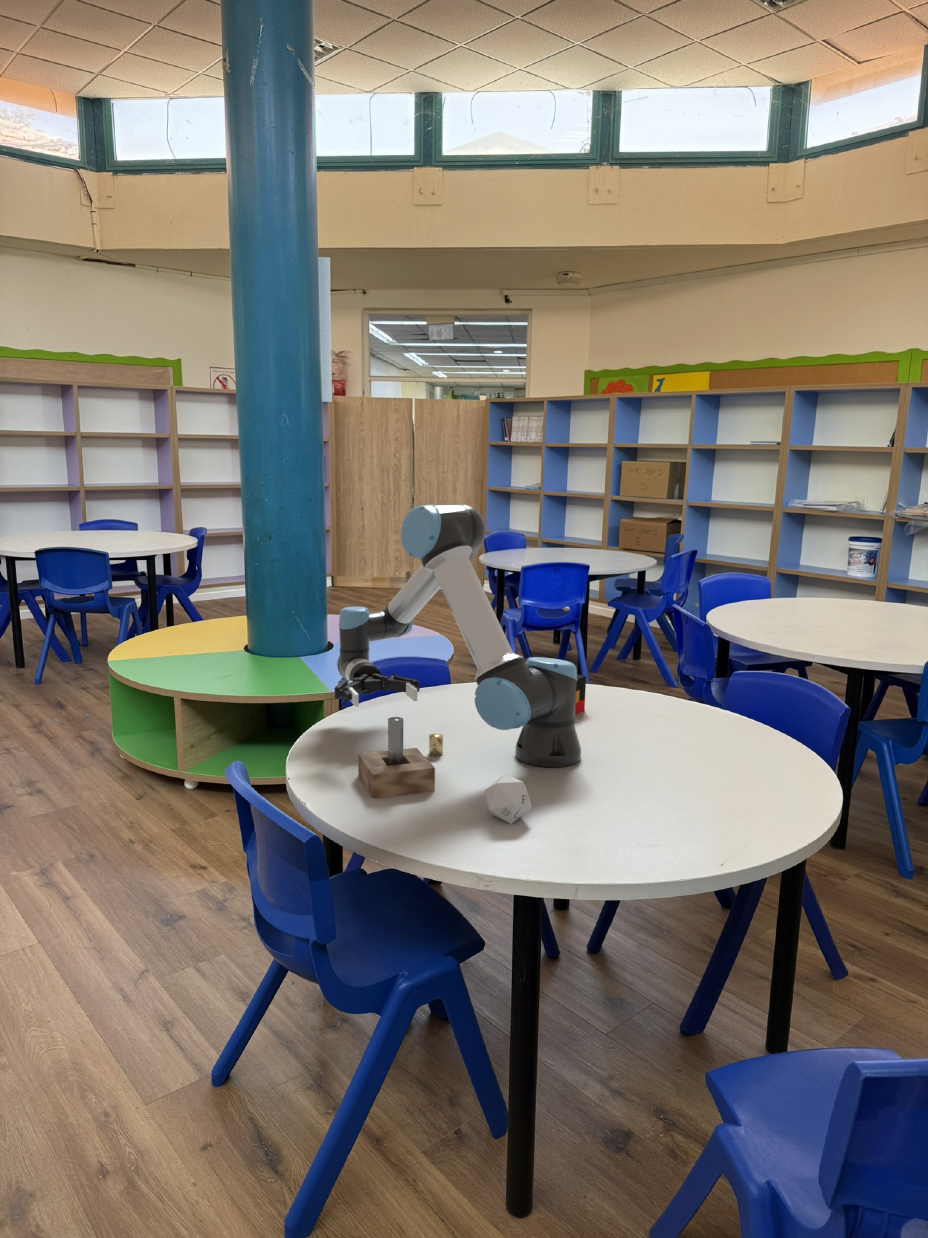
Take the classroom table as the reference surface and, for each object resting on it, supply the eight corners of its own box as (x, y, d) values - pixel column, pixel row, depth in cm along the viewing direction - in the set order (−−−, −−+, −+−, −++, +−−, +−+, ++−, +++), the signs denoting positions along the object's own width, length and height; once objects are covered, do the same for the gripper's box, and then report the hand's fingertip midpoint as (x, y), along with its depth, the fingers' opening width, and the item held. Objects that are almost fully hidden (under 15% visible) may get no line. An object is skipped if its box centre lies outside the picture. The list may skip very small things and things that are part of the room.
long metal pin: (406, 782, 173) (406, 718, 171) (396, 787, 170) (396, 722, 168) (394, 779, 175) (394, 716, 172) (384, 783, 172) (384, 719, 170)
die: (487, 831, 152) (518, 797, 149) (468, 795, 158) (498, 761, 154) (516, 835, 157) (548, 802, 154) (498, 800, 163) (527, 767, 160)
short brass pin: (445, 753, 192) (445, 734, 191) (437, 757, 189) (437, 738, 188) (434, 750, 193) (434, 732, 193) (426, 754, 191) (426, 735, 190)
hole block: (416, 769, 181) (416, 747, 180) (434, 791, 169) (434, 767, 168) (358, 775, 176) (358, 753, 176) (373, 798, 164) (373, 774, 164)
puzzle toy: (566, 718, 221) (567, 682, 219) (534, 711, 227) (536, 676, 225) (584, 710, 228) (586, 675, 227) (553, 704, 234) (554, 670, 233)
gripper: (411, 687, 208) (439, 709, 188) (313, 695, 199) (331, 719, 180) (411, 658, 207) (439, 677, 187) (313, 665, 198) (331, 686, 178)
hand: (386, 698), depth 183 cm, fingers open, 13 cm apart
